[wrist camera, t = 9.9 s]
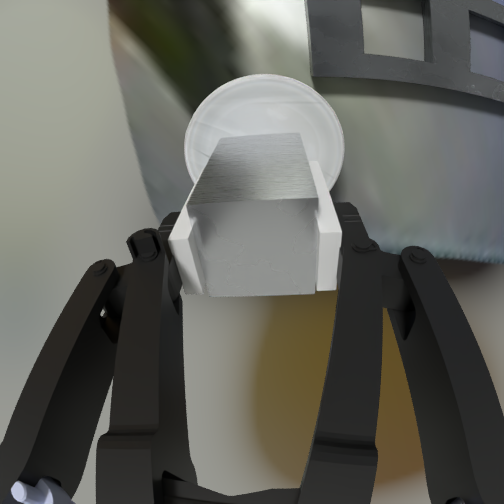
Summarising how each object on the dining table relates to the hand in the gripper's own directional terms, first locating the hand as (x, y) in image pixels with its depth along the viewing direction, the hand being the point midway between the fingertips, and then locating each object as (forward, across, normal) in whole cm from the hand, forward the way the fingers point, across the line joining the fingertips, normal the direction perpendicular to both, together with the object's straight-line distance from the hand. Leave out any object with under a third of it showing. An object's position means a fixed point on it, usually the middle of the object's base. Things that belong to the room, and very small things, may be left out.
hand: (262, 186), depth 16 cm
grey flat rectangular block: (+10, -16, -10) cm, 21 cm away
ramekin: (+10, 0, 0) cm, 10 cm away
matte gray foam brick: (+2, 0, 0) cm, 2 cm away
